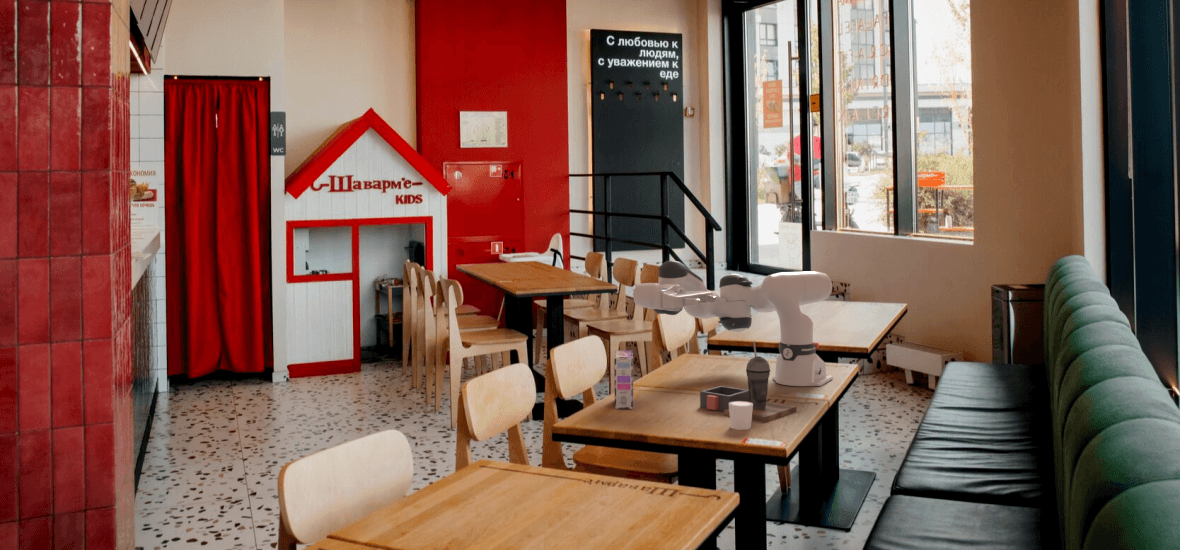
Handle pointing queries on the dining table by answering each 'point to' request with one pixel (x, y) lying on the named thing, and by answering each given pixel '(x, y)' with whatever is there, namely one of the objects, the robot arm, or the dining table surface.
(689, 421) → the dining table surface
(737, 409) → the white cup
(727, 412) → the walnut mat
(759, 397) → the beverage cup
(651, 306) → the robot arm
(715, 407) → the dark grey open box
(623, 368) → the candy box
